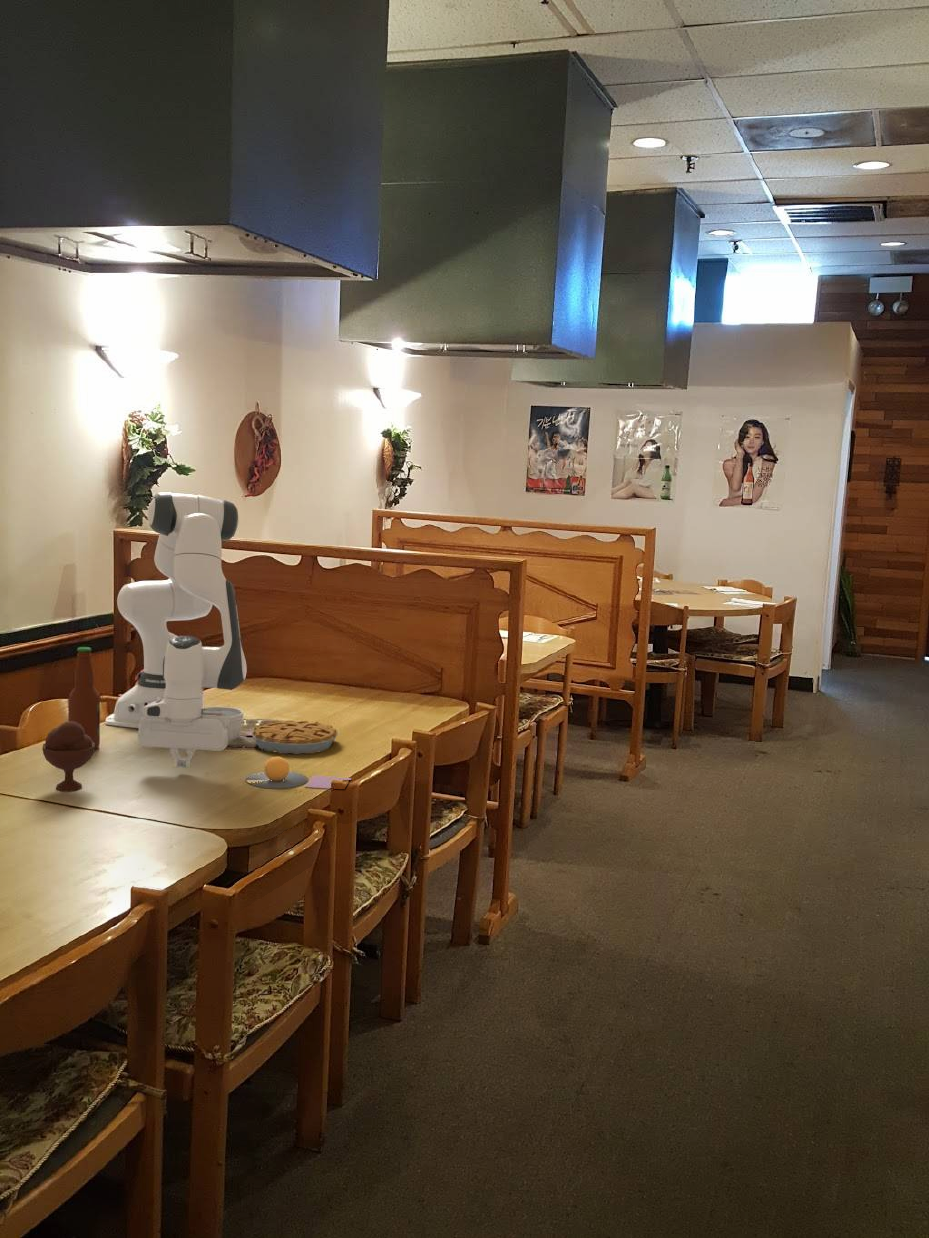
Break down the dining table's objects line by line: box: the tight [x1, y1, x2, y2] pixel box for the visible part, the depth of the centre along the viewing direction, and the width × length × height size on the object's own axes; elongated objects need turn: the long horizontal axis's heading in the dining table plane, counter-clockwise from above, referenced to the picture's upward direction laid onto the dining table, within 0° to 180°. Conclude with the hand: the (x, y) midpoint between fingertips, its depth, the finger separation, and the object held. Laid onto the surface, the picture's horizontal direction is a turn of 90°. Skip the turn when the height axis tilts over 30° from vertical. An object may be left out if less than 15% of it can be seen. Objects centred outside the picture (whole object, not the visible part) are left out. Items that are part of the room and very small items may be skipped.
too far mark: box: [304, 775, 352, 790], centre depth 253 cm, size 9×9×1 cm
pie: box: [251, 720, 338, 755], centre depth 285 cm, size 22×22×5 cm
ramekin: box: [203, 706, 244, 742], centre depth 288 cm, size 13×13×7 cm
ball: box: [263, 756, 290, 781], centre depth 252 cm, size 6×6×6 cm
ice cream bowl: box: [41, 721, 95, 792], centre depth 239 cm, size 11×11×15 cm
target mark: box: [245, 771, 309, 790], centre depth 254 cm, size 14×14×1 cm
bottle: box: [67, 646, 101, 750], centre depth 271 cm, size 7×7×25 cm
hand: (182, 766), depth 255 cm, fingers closed
